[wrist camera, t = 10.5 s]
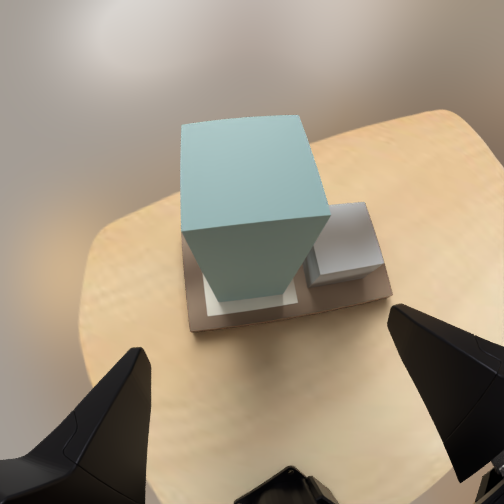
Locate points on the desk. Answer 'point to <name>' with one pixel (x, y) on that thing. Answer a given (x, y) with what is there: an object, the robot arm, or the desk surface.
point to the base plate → (302, 278)
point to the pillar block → (250, 202)
